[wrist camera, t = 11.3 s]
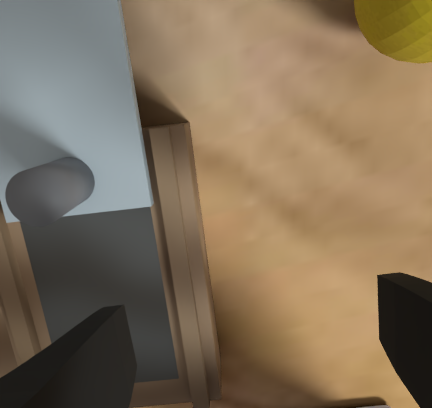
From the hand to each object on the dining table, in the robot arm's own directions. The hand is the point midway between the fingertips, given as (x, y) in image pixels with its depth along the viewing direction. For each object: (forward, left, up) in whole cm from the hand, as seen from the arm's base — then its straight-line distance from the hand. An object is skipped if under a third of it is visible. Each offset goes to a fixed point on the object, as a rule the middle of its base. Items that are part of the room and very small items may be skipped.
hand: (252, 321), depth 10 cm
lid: (+8, +7, -7) cm, 13 cm away
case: (-2, +10, -10) cm, 14 cm away
